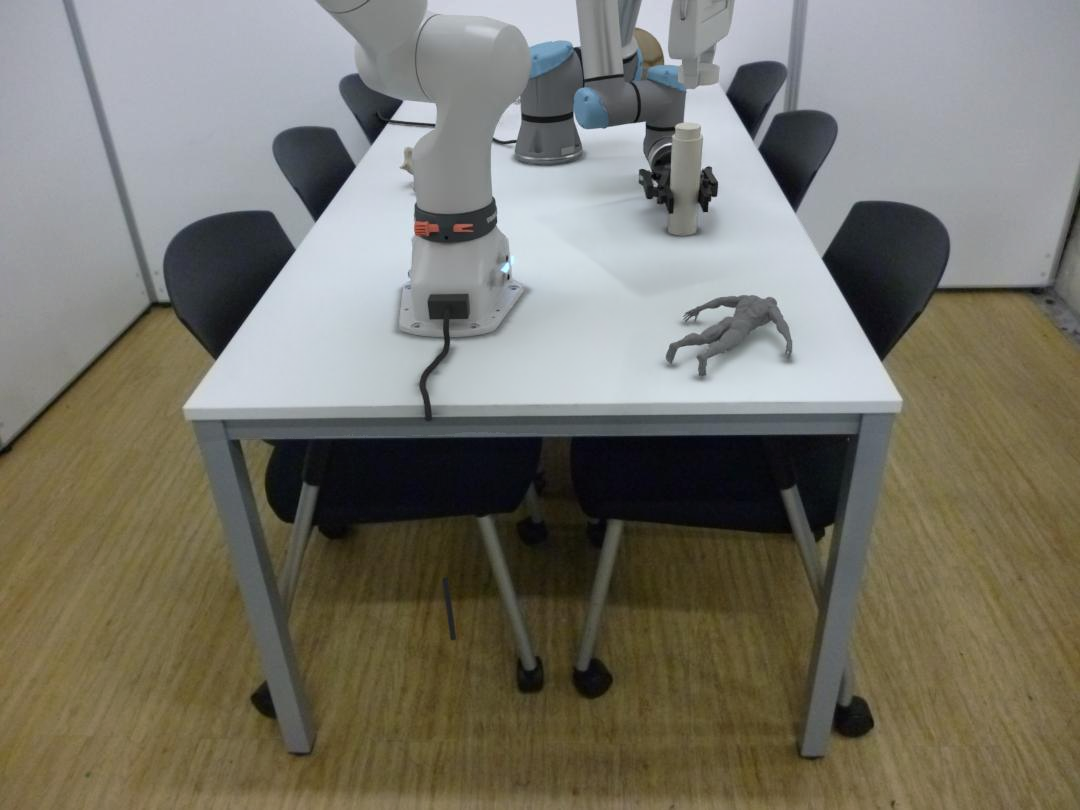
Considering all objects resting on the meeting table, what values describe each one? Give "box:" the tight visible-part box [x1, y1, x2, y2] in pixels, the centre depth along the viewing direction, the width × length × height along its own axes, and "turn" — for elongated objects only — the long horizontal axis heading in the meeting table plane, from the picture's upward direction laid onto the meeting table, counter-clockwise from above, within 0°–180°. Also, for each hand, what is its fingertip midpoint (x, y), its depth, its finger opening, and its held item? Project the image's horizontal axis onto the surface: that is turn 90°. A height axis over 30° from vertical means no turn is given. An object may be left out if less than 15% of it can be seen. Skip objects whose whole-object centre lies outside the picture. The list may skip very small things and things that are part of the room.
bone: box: [399, 146, 415, 193], centre depth 172 cm, size 10×6×10 cm
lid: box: [678, 63, 721, 87], centre depth 115 cm, size 6×6×2 cm
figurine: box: [665, 294, 793, 377], centre depth 110 cm, size 17×4×20 cm
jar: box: [667, 122, 704, 237], centre depth 142 cm, size 5×5×18 cm
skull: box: [633, 26, 665, 81], centre depth 227 cm, size 16×22×25 cm
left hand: (697, 82), depth 116 cm, fingers closed on lid, 5 cm apart
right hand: (688, 205), depth 139 cm, fingers closed on jar, 5 cm apart
